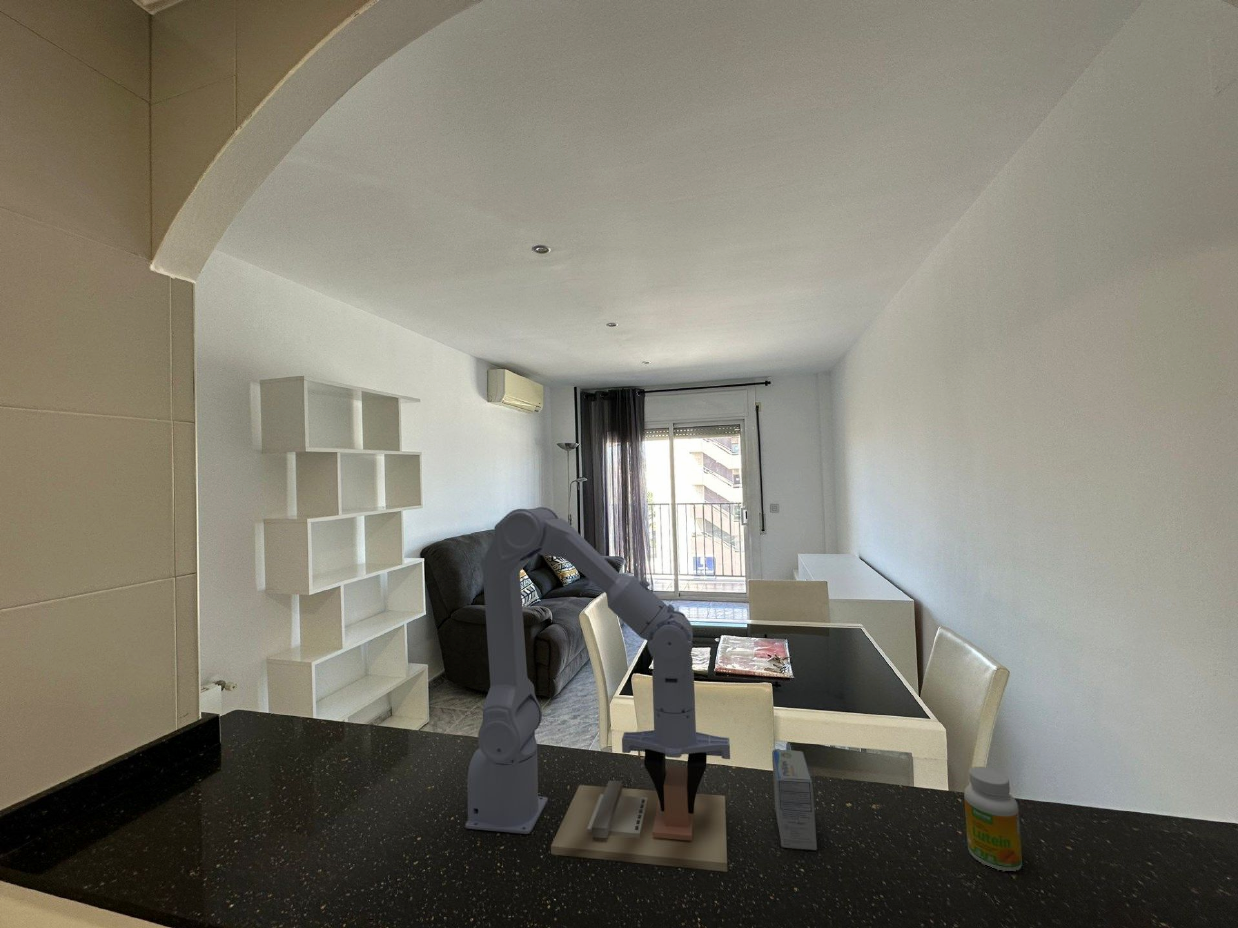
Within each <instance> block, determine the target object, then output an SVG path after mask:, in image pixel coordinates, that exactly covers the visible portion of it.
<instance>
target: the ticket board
mask: <svg viewBox="0 0 1238 928" xmlns="http://www.w3.org/2000/svg"><path fill="white" fill-rule="evenodd" d="M658 799H659V798H658V794H657V791H656V790H652V789H651V790H650V789H637V788H624V787H623V781H622V780H621V781H620V780H608V782H607V784H606V786H596V785H587V784H586V785H585V784H584V785H583V784H579V785H578V787H577V789H576V791H575V794H574V796H573V798H572V800H571V802H570V804H569V807H568V809H567V810H566V812H565V813H566V814H564V817H563V819H562V821H561V823H560V826H559V828H558V830H557V832H556V835H555V836H554V837H553V841H552V843H551V845H550V854H551V855H555V856H564V857H565V856H567V857H576V858H584V859H598V860H604V861H605V860H606V861H615V862H626V863H636V864H647V865H656V866H665V867H675V868H677V867H678V868H686V869H695V870H705V871H715V872H716V871H717V872H724V873H725V872H726V873H728V853H727V852H728V851H727V845H728V844H727V821H726V820H727V816H726V812H727V811H726V795H721V794H719V795H718V794H707V793H705V794H703V793H696V797H695V803H694V814H693V828H692V841H690V840H679V839H668V838H657V837H652V831H653V826H654V821H655V815H656V810H657V805H658Z"/></svg>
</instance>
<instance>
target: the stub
mask: <svg viewBox="0 0 1238 928" xmlns="http://www.w3.org/2000/svg"><path fill="white" fill-rule="evenodd" d="M688 796H689V786H688V771H687V766H675V765H674V766H673V765H666V775H665V781H664V809H665V811H661V806H660V802H659V799H658V805H657V810H656V815H655V821H654V826H653V831H652V837H657V838H668V839H679V840H690V841H692V828H693V814H694V813H693V814H690V813H688Z"/></svg>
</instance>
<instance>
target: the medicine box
mask: <svg viewBox="0 0 1238 928" xmlns="http://www.w3.org/2000/svg"><path fill="white" fill-rule="evenodd" d="M771 752H772V754H771V755H772V756H771V757H772V758H771V759H772V760H771V761H772V775H773V777H772V779H773V791H774V792H773V794H774V797H773V798H774V809H775V815H776V821H777V825H778V831H779V833H778V834H779V838H780V845H781V847H782V848H784V849H785V848H787V849H795V850H808V851H809V850H810V851H817V850H818V846H817V844H818V843H817V832H816V831H817V830H816V816H815V815H816V814H815V802H814V799H815V798H814V789H813V780H812V776H811V773H810V769H809V767H808V766H809V765H808V763H807V760H806V756H805V754H804V752H803V751H800V750H792V749H791V750H789V749H773V750H772V751H771Z"/></svg>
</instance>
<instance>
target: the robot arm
mask: <svg viewBox="0 0 1238 928" xmlns="http://www.w3.org/2000/svg"><path fill="white" fill-rule="evenodd" d="M537 554H539V555H541V556H545V557H546V556H547V557H552V558H554V557H556V558H562V559H565V561H566V562H568V563H569V564H571V565H572V566H573V567H574V568H575V569H576V570H577V571H579V572H580V573H582V575H584V576H585V577H586V578H587V579H589V580H590V581H591V582H592V583H593V584H594V585H596V586H597V587H598V588H599V589H600V590H601V591H602V592H604V593H605V594H606V600H607V601H606V602H607V607H608V609H610V610H611V611H612V612H613V613H614V614H615V615H616V616H617V617H618V618H619V619H620V620H621V621H622V622H623V623H625V625H626V626H627V627H629V628H630V629H631V630H632V632H634V633H635V634H636V635H638V636H639V638H641V639H643V640H646V642H647V643H646V644H647V649H648V652H649V655H651V657H652V665H653V666H652V668H653V669H652V672H651V673H652V674H651V675H652V679H651V680H652V705H653V708H652V709H653V710H652V711H653V730H642V731H629V732H628V731H624V733H623V735H622V737H621V751H622V754H630V753H631V752H644V761H643V764H644V768H645V769H646V771H647V773H648V775H649V777H650V778H651V780H652V783H653V785H654V788H655V791H657V794H658V798H659V802H660V806H661V811H665V809H664V781H665V775H666V770H667V765H666V760H667V759H666V758H676V759H679V758H681V757H682V755H688V756H687V761H686V762H687V763H686V767H687V771H688V786H689V796H688V813H690V814H693V813H694V803H695V797H696V794H698V790H699V786H700V783H701V781H702V778H703V776H704V774H705V772H706V769H707V762H708V761H707V758H708V757H707V756H710V757H711V756H712V757H721V759H724V760H731V749H730V748H731V745H730V744H731V743H730V737H726V736H716V735H711V734H707V733H704V732H703V733H702V732H698V731H697V724H696V723H697V722H696V696H695V692H696V691H695V674H694V673H695V672H694V669H693V663H694V661H693V656H692V651H693V646H694V645H693V638H694V631H693V626H692V624H691V622H690V620H689V619H688V618H687V617H686V615H685V614H684V613H683V612H681V611H678V610H676V608H675V606H673V605H672V604H671V603H668V605H667V604H666V603H665V601H663V600H662V599H661V598H660V597H659V596H658V595H656V594H655V593H654V592H653V591H652V590H651V589H650V588H649V587H650V585H651V584H650V583H649V581H647V579H645V578H642V579H641V580H639V578H638V577H637V576H635V575H630V576H629V575H627V576H624V575H621V574H620V573H619V572H618V571H617V570H616V569H615V568H614V567H613V566H612V565H611V564H610V563H609V562H608V561H607V560H606V559H605V558H604V557H603V556H602V555H601V554H600V553H599V552H598V551H597V550H596V549H595V548H594V547H593V546H592V545H591V544H590V543H589V542H588V541H587V540H586V539H585V538H584V537H583V536H582V535H581V534H580V533H579V532H578V531H577V530H576V529H575V527H573V526H572V525H571V524H570V523H569V522H568V521H567V520H565V519H563V518H562V517H559V516H558V515H557V513H556V512H555V511H554V510H553V509H550V508H548V507H544V506H541V507H540V506H539V507H535V508H517V509H513V510H512V511H510V512H508V513H507V514H506V515H505V516H504V517H503V518H502V519H500V521H498V522H497V523H496V524H495V525H494V535H493V538H492V540H491V542H490V544H489V546H488V549H487V551H486V553H485V555H484V558H483V561H482V579H483V580H482V581H483V591H484V592H483V593H484V595H483V596H484V609H485V622H486V623H485V624H486V638H487V641H486V642H487V650H488V651H487V654H488V655H487V656H488V665H489V666H488V669H489V683H490V687H489V689H488V693H487V695H486V698H485V700H484V703H483V706H482V723H481V725H480V727H479V729H478V734H477V735H478V736H477V740H478V741H477V742H478V743H477V744H478V747H479V748H477V749H476V750H475V752H474V754H473V755H472V757H471V759H470V763H469V767H468V770H467V771H468V772H467V820H466V823H465V829H470V830H479V831H481V830H482V831H492V832H502V833H511V834H512V833H513V834H522V835H523V834H525V835H529V834H530V833H531V832H532V830H533V828H534V827H535V825H536V823H537V821H538V820H539V818H540V816H541V814H542V813H543V810H544V808H545V807H546V805H547V803H548V799H549V798H548V797H546V796H539V780H538V778H539V775H538V773H539V772H538V742H537V739H536V730H538V728H539V726H540V725H541V722H542V717H543V711H542V707H541V705H540V702H539V700H538V698H537V696H536V694H535V692H536V691H535V686H534V684H533V682H532V681H531V679H529V678H528V669H527V668H528V666H527V656H526V643H525V630H524V629H525V627H524V626H525V625H524V614H523V601H522V599H523V598H522V586H521V574H520V573H521V571H522V570H523V568H525V567H526V565H527V564H528V563H529V562H530V561H531V560H532V559H533V558H534V556H536V555H537Z"/></svg>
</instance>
